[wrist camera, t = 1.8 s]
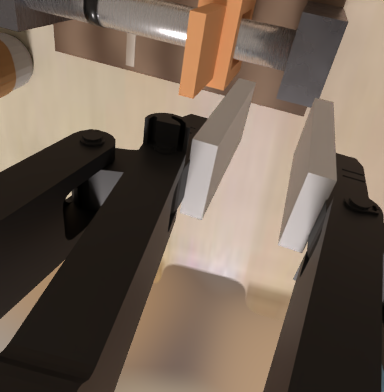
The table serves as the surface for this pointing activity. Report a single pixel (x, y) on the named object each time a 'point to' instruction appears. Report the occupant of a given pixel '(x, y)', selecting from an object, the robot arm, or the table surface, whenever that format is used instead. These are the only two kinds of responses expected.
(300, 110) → the base board
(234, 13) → the orange slotted block
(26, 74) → the coffee cup
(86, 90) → the table surface
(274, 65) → the pipe
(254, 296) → the table surface
